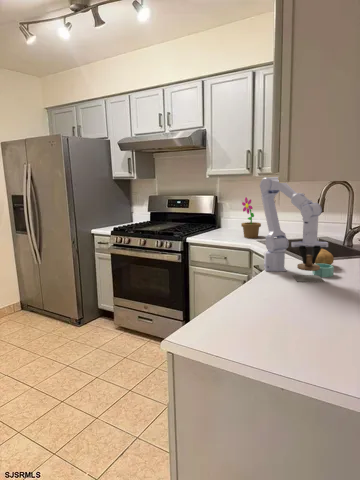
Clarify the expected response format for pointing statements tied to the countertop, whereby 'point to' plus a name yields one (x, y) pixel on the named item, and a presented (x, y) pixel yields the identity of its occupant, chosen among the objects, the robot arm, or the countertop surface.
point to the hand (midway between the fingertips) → (308, 263)
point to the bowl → (324, 270)
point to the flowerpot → (250, 227)
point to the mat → (308, 278)
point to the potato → (324, 257)
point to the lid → (308, 264)
